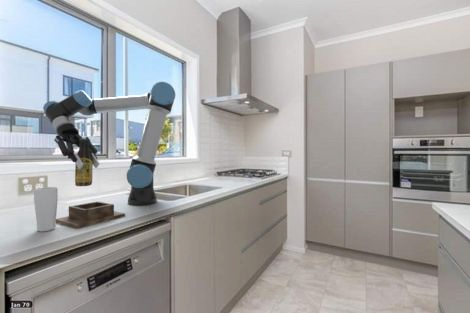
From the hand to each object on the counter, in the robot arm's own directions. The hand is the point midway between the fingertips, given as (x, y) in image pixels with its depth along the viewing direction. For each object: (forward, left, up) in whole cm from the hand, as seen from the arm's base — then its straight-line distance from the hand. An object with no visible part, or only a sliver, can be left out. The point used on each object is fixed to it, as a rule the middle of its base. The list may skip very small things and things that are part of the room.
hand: (89, 166), depth 100 cm
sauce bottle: (+2, -3, -9) cm, 9 cm away
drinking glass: (+13, +9, -22) cm, 27 cm away
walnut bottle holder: (-1, 0, -22) cm, 22 cm away
